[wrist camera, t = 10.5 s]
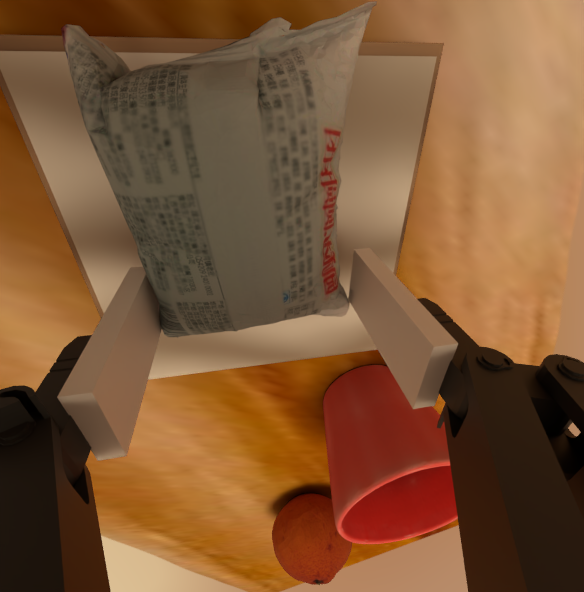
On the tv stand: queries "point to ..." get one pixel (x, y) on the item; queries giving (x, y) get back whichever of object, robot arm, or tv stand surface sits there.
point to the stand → (119, 240)
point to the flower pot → (385, 460)
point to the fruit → (309, 539)
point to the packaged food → (228, 168)
